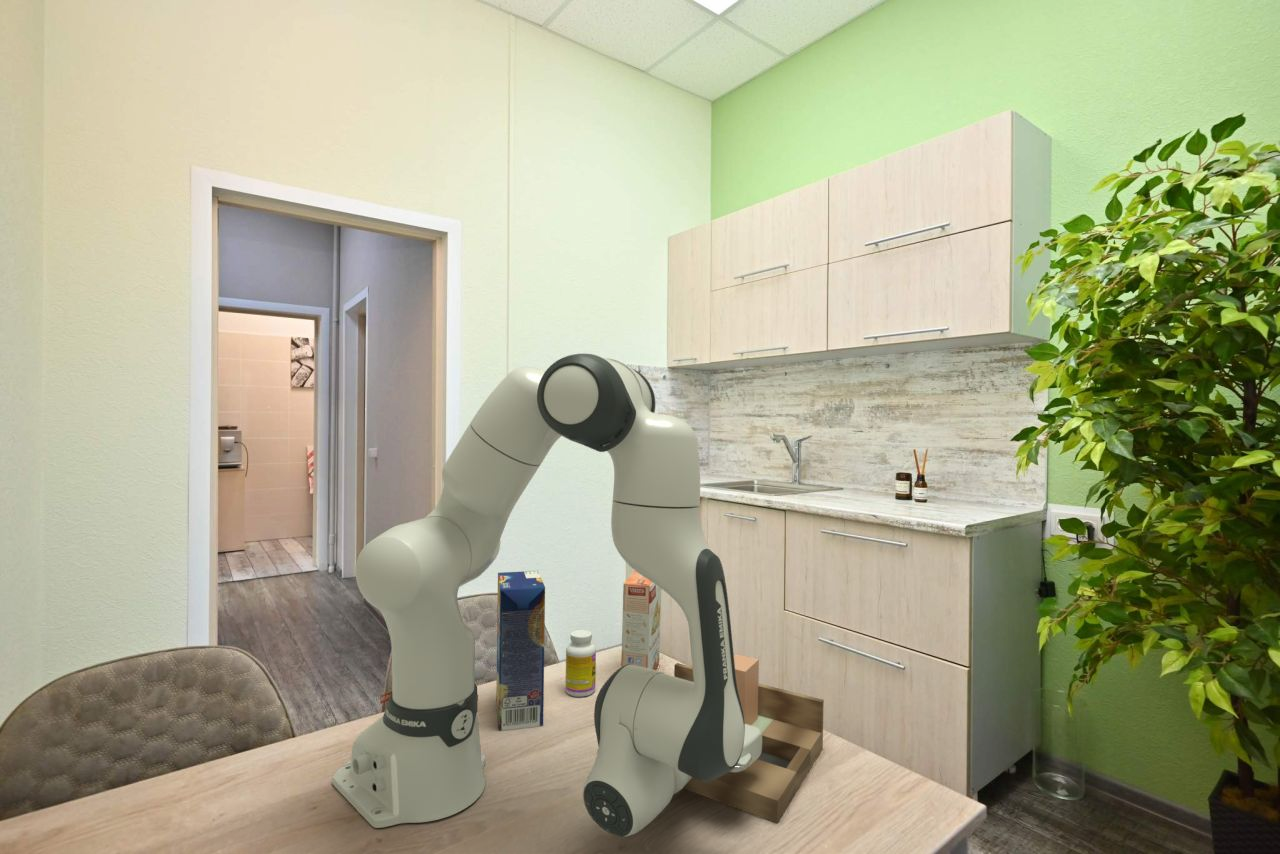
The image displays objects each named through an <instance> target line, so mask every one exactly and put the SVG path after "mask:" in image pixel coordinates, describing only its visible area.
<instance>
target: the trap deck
mask: <svg viewBox="0 0 1280 854" xmlns="http://www.w3.org/2000/svg"><path fill="white" fill-rule="evenodd" d="M673 669H674V670H673V671H674V673H673V676H674V677H677V678H681V679H684V680H688V681H691V682H694V678H693V667H692V665H691V666H690V665H688V664H683V663H679V662H676V663H675V664H674V668H673ZM824 705H825V704H824V699H822V698H819V697H814V696H809V695H806V694H802V693H797V692H794V691H790V690H786V689H782V688H779V687H778V688H777V687H774V686H769V685H767V684H763V683H759V682H758V719H757V720H756V721H755V722H754V723H753V724H752V726H755V727H757V728H759V730H760V731H761V733H762V752H761V755H760V756H759V758H758V759H757V760H756V761H755V762H753V763H752V764H751V765H750V766H749V767H747V768H746V769H744V770H742V771H740V772H728V773H726V774H725V775H723V776H721V777H719V778H717V779H715V780H712V781H709V782H706V783H703V782H701V781H699V780H697V779H695V778H693V777H692V778H691V779H690V780H689V782H688V783H687V784H686V785H685V786H684V787H683V788H682V789H683V790H687V791H689V792H692V793H695V794H697V795H700V796H702V797H706V798H708V799H711V800H713V801H716V802H719V803H722V804H725V805H726V806H729V807H731V808H732V807H733V808H734V809H738V810H740V811H743V812H745V813H749V814H751V815H754V816H756V817H759V818H762V819H765V820H767V821H770V822H772V823H775V824H778V823H779V822H780V820H781V818H782V816H783V815H784V813H785V812H786V810H787V808H788V806H789V805H790V803H791V802H792V800H793V799H794V797H795V795H796V793H797V792H798V791H799V788H800V787H801V785H802V783H803V782H804V780H805V779H806V777H807V775H808V774H809V773H810V770H811V769H812V767H813V765H814V763H816V761H817V758H818V757H819V755H820V754H821V752H822V750H823V749H824V748H823V746H824V745H823V743H824V741H823V740H824V738H823V737H824Z"/></svg>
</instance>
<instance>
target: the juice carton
mask: <svg viewBox="0 0 1280 854" xmlns="http://www.w3.org/2000/svg"><path fill="white" fill-rule="evenodd" d="M496 615H497V617H496V618H497V621H496V624H497V625H496V626H497V629H496V637H497V638H496V693H495V695H496V696H495V697H496V698H495V699H496V711H497V722H498V731H499V732H502V731H510V730H512V731H513V730H518V729H519V730H521V729H528V728H537V727H544V704H545V703H544V699H545V697H544V695H545V694H544V693H545V692H544V691H545V690H544V689H545V688H544V687H545V628H546V627H545V623H546V620H545V619H546V617H545V615H546V587H545V584H544V581H543V579H542V576H541V575H540V573H539V570H528V571H527V570H526V571H523V570H522V571H508V572H507V571H505V572H497V614H496Z"/></svg>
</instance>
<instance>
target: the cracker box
mask: <svg viewBox="0 0 1280 854" xmlns="http://www.w3.org/2000/svg"><path fill="white" fill-rule="evenodd" d="M622 587H623V589H622V590H623V591H622V623H621V624H622V626H621V627H622V628H621V655H620V657H621V659H620V660H621V661H620V666H621V667H623V666H625V665H627V664H633V665H637V666H641V667H645V668H649V669H652V670H656V671H657V669H658V667H659V664H660V646H661V643H660V642H661V641H660V640H661V616H662V615H661V612H662V610H661V609H662V589H661V588H660V587H659V586H657V585H656V584H655V583H653V582H652V581H650V580H648V579H647V578H645V577H644V576H642V575H641V574H639V573H638V572H636V571H635V570H634V571H633V572H632V573H631V574H630V576H629V577H628V578H627V579H626V580H625V581H624V582H623V585H622ZM621 667H620V668H621Z"/></svg>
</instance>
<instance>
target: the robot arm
mask: <svg viewBox="0 0 1280 854" xmlns="http://www.w3.org/2000/svg"><path fill="white" fill-rule="evenodd" d="M656 406H657V405H656V396H655V393H654V390H653V387H652V385H651V383H650V382H649V380H648V379H647V378H646V377H645V376H644V375H643V374H642V373H641V372H639V371H638V370H637V369H635V368H633V367H630V366H628V365H627V364H625V363H623V362H621V361H620V360H616V359H612V358H605V357H601V356H599V355H596V354H593V353H576V354H569V355H566V356H563V357H561V358H559V359H557V360H555V361H554V362H553V363H552V364H551V365H549V367H548V368H547V369H546V370H544V369H541V368H538V367H533V366H521V367H517V368H515V369H513V370H512V371H510V372H509V373H508V374H507V375H506V376H505V377H504V378H503V379H502V380H501V381H500V382H499V384H498V385H497V386H496V387H495V388H494V389H493V391H492V392H491V393H490V394H489V395H488V396H487V398H486V399H485V401H484V402H483V403H482V405H481V406H480V407H479V409H478V410H477V412H476V413H475V415H474V416H473V418H472V420H471V421H470V422H469V424H468V426H467V427H466V429H465V430H464V432H463V433H462V435H461V436H460V437H461V438H460V439H459V440H458V442H457V443H456V445H455V447H454V448H453V450H452V452H451V454H450V455H449V457H448V459H446V462H445V463H444V465H443V467H442V471H441V476H442V477H441V478H442V481H443V488H442V491H441V495H440V497H439V500H438V502H437V504H436V506H435V507H434V508H433V509H432V511H431V512H430V513H429V514H428V515H426V516H425V517H423V518H419V519H416V520H412V521H408V522H405V523H401V524H397V525H395V526H393V527H391V528H389V529H387V530H386V531H384V532H382V533H380V534H379V535H378V536H376V537H375V538H374V539H371V540H370V541H369V542H368V543H366V544H365V546H364V547H363V548H362V550H361V551H360V553H359V554H358V557H357V559H356V564H355V580H356V581H355V582H356V584H357V587H358V591H359V592H360V594H361V595H362V597H363V598H364V599H365V600H366V602H367V603H368V604H370V605H371V606H372V607H374V608H376V609H377V610H378V611H379V613H381V615H382V617H383V619H384V621H385V624H386V628H387V630H388V634H389V638H390V644H391V646H390V647H391V673H392V675H391V677H392V678H391V679H392V681H391V684H392V686H391V687H392V688H391V691H388V692H386V693H384V694H382V695H380V696H379V698H383V699H382V700H381V701H379V704H384V703H386V706H385V709H384V712H383V715H382V716H381V717H380V718H378V719H377V720H376V721H375V722H374V723H372V724H370V725H369V726H368V727H366V728H365V729H364V730H363V731H361V732H360V733H359V734H358V736H356V738H355V740H354V741H353V744H352V747H351V756H350V760H349V761H347V762H345V764H343V765H342V766H341V767H340V768H339V769H338V770H337V771H336V772H335V773H334V774H333V776H332V781H331V782H332V783H331V784H332V785H333V786H334V787H335V789H336V790H337V791H338V792H339V793H340V794H341V795H342V796H343V797H344V798H345V800H347V801H348V802H349V803H350V804H351V805H352V807H354V809H355V810H356V811H357V812H358V813H359V814H360V815H361V816H362V818H364V819H365V820H366V822H367V823H368V824H370V826H372V827H373V828H375V829H381V828H382V829H383V828H387V827H390V826H391V827H392V826H396V825H399V824H408V823H410V824H411V823H413V824H414V823H416V824H417V823H427V822H433V821H437V820H441V819H444V818H448V817H451V816H453V815H455V814H457V813H459V812H461V811H463V810H465V809H467V808H468V807H469V806H471V805H472V804H474V803H475V802H477V800H478V799H479V798H480V797H481V795H483V792H484V790H485V788H486V779H485V774H484V767H485V765H486V757H485V754H484V753H482V750H481V749H482V747H481V738H480V737H481V736H480V728H479V727H480V726H479V725H480V724H479V717H478V711H479V710H478V703H479V702H478V701H479V694H478V686H477V684H476V683H475V677H476V676H475V675H476V674H475V668H476V667H475V665H476V656H475V655H476V637H475V632H474V631H473V629H472V627H471V626H470V625H469V624H467V623H466V622H464V620H463V617H462V615H461V611H460V608H459V607H460V605H459V601H458V593H459V588H460V587H462V586H464V585H465V584H466V585H467V584H468V583H470V582H473V580H476V579H478V578H479V577H480V576H481V575H482V574H483V573H484V572H485V571H486V570H487V569H488V568H489V567H490V566H492V564H493V562H494V561H495V560H496V559H497V556H498V555H499V552H500V549H501V538H502V535H503V533H504V531H505V528H506V524H507V523H508V520H509V518H510V515H511V513H512V511H513V510H514V508H515V506H516V504H517V502H518V501H519V499H520V498H521V496H522V495H523V493H524V492H525V490H526V488H527V486H528V485H529V484H530V482H531V480H532V479H533V477H534V475H535V474H536V472H537V471H538V469H539V468H540V467H541V465H542V464H543V462H544V460H545V458H546V457H547V455H548V453H549V452H550V450H551V449H552V447H553V446H554V445H555V443H556V442H557V441H558V440H559V439H560V438H561V437H563V438H564V439H567V440H569V441H571V442H574V443H577V444H580V445H582V446H584V447H587V448H590V449H591V450H593V451H596V452H599V453H605V452H607V453H608V454H609V456H610V458H611V460H612V464H613V471H614V473H613V474H614V475H613V493H612V502H611V503H612V504H611V505H612V506H611V518H610V519H611V521H610V522H611V523H610V525H611V527H610V528H611V535H612V536H611V537H612V542H613V544H614V547H615V549H616V551H617V552H618V554H619V555H620V556H621V558H622V559H623V560H624V562H625V563H627V565H628V566H629V567H630V568H631V569H632V570H634V571H636V572H638V573H639V574H641V575H642V576H644V577H645V578H647V579H648V580H650V581H652V582H653V583H655V584H656V585H657V586H659V587H660V588H661V590H663V591H664V592H665V593H666V594H667V595H669V596H670V597H671V598H672V599H673V600H674V601H675V602H676V603H677V605H678V606H679V607H680V608H681V610H682V612H683V614H684V616H685V617H686V621H687V625H688V632H689V643H690V653H691V655H690V656H691V667H693V678H694V682H691V681H688V680H684V679H681V678H677V677H674V675H670V674H667V673H664V672H662V671H660V670H657V669H656V670H652V669H649V668H645V667H641V666H637V665H633V664H627V665H625V666H623V667H620V668H618V669H617V670H616V671H614V672H613V673H612V674H611V675H610V677H608V678H607V680H606V681H605V682H604V684H603V685H602V686H601V688H600V689H599V691H598V693H597V696H596V698H595V702H594V703H595V704H594V710H593V711H594V712H593V718H594V719H593V722H594V729H595V734H596V740H597V741H596V742H597V745H598V747H597V748H598V750H597V755H596V757H595V761H594V764H593V765H592V768H591V770H590V772H589V774H588V776H587V778H586V780H585V782H584V785H583V792H582V797H583V798H582V799H583V803H584V806H585V809H586V811H587V813H588V815H589V816H590V818H591V819H592V821H593V822H594V823H595V824H596V825H597V826H598V827H599V828H601V829H602V830H603V831H605V832H607V833H609V834H611V835H614V836H616V837H619V838H625V837H630V836H633V835H635V834H638V833H639V832H640V831H642V830H643V829H645V828H646V827H647V826H648V825H649V824H650V823H652V821H653V820H655V819H656V818H657V817H658V815H660V814H661V813H662V812H663V811H664V809H666V807H667V806H668V805H669V804H670V802H671V801H672V798H673V796H674V794H677V793H679V792H680V791H681V790H682V789H683V787H684V786H685V785H686V784H687V783H688V782H689V780H690V779H691V778H692V777H693V778H695V779H697V780H699V781H701V782H703V783H706V782H709V781H712V780H715V779H717V778H719V777H721V776H723V775H725V774H726V773H728V772H740V771H742V770H744V769H746V768H747V767H749V766H750V765H751V764H752V763H753V762H755V761H756V760H757V759H758V758H759V756H760V755H761V752H762V733H761V731H760V730H759V728H757V727H755V726H751V725H748V724H745V723H744V715H743V710H742V706H741V702H740V697H739V693H738V688H737V682H736V673H735V663H734V654H735V653H734V643H733V635H732V625H731V617H730V605H729V596H728V589H727V584H726V583H727V582H726V577H725V572H724V568H723V564H722V561H721V559H720V557H719V556H718V555H717V554H715V552H713V551H712V550H711V549H710V546H709V545H708V542H707V540H706V538H705V535H704V532H703V529H702V523H701V517H700V516H701V515H700V514H701V513H700V512H701V511H700V504H701V467H700V465H701V464H700V455H699V447H698V440H697V435H696V434H695V433H696V432H695V430H694V429H693V427H691V425H690V424H688V423H687V422H686V421H684V420H683V419H680V418H678V417H675V416H673V415H668V414H662V413H656Z"/></svg>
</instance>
